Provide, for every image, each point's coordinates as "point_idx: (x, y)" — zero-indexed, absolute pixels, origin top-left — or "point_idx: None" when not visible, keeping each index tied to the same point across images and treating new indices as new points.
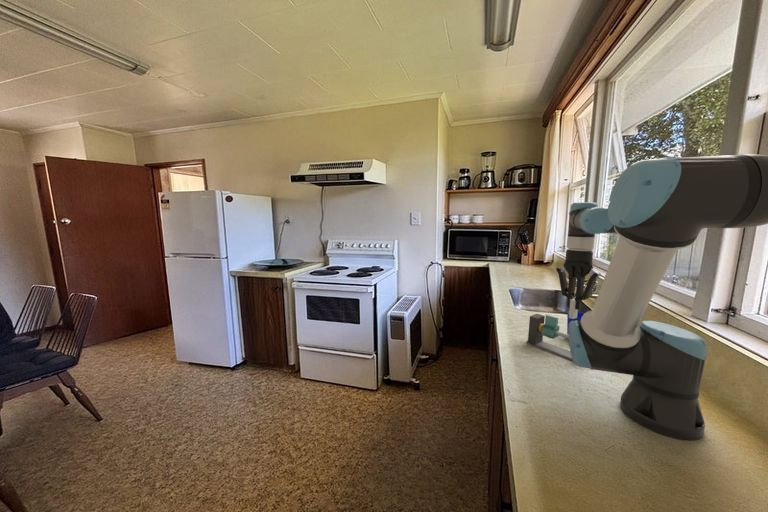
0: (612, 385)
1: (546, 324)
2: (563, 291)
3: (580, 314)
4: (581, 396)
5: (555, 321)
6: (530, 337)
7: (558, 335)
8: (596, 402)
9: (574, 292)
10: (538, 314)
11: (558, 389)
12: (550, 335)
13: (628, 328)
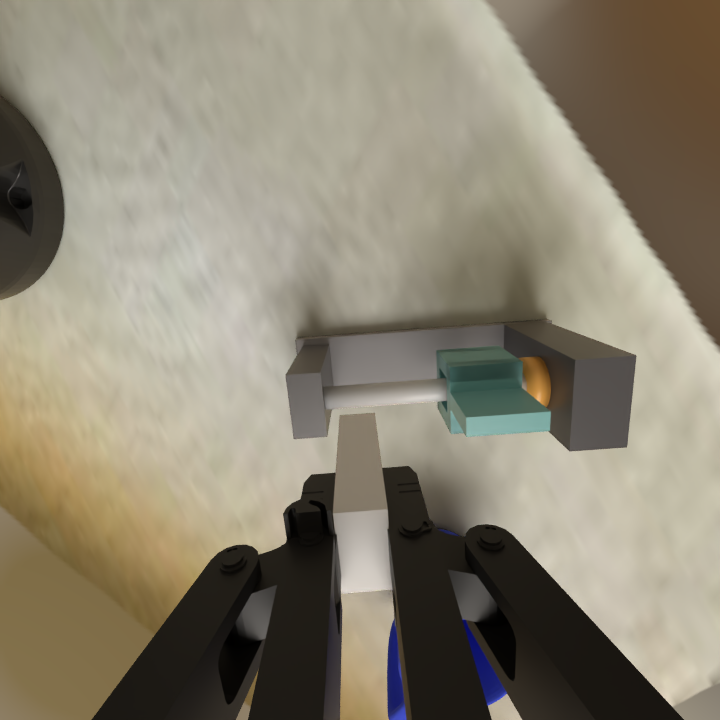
0: (142, 274)
1: (511, 388)
2: (508, 567)
3: None
4: (139, 61)
5: (467, 406)
6: (544, 326)
7: (439, 409)
8: (90, 75)
9: (399, 653)
10: (611, 440)
11: (213, 19)
12: (454, 352)
13: None
